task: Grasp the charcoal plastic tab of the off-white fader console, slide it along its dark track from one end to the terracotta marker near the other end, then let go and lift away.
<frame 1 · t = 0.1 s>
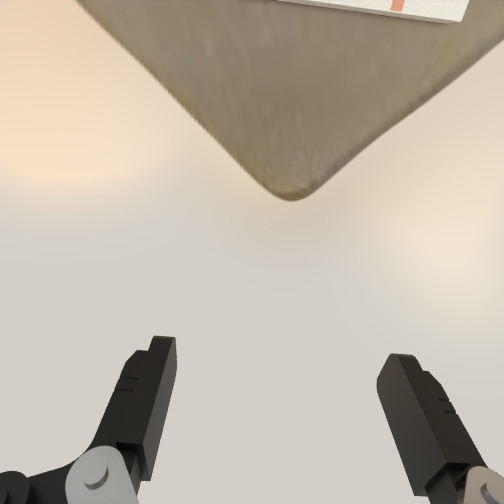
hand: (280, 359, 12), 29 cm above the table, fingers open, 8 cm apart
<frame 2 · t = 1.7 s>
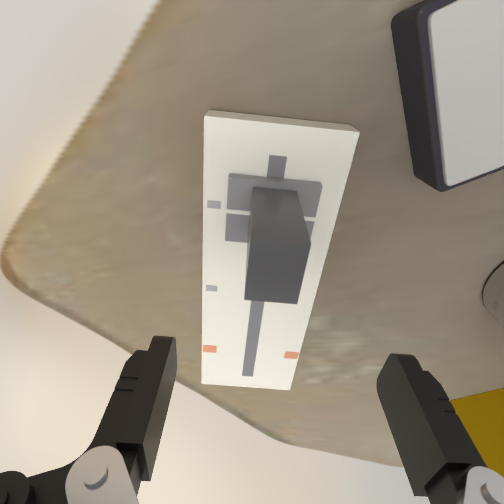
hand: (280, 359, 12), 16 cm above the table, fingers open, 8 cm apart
fader console: (259, 275, 29), on the table
fader tab: (272, 236, 19), point 6 cm above the table, slide at -8.0 cm
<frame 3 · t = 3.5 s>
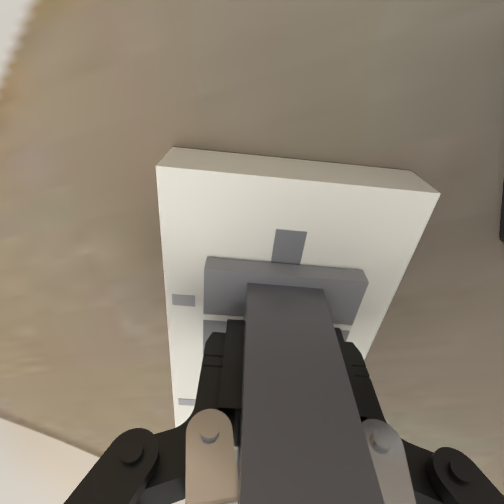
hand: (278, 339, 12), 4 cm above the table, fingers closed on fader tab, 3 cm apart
fader console: (257, 369, 20), on the table
fader tab: (283, 388, 11), point 6 cm above the table, slide at -8.0 cm, touching gripper
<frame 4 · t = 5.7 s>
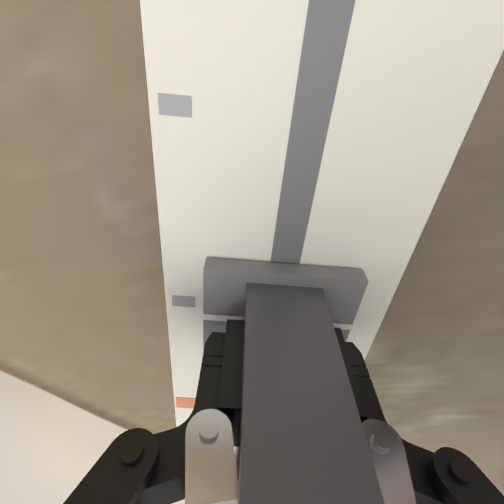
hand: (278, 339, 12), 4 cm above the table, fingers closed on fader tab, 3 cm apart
fader console: (273, 274, 16), on the table
fader tab: (283, 388, 11), point 6 cm above the table, slide at 0.0 cm, touching gripper
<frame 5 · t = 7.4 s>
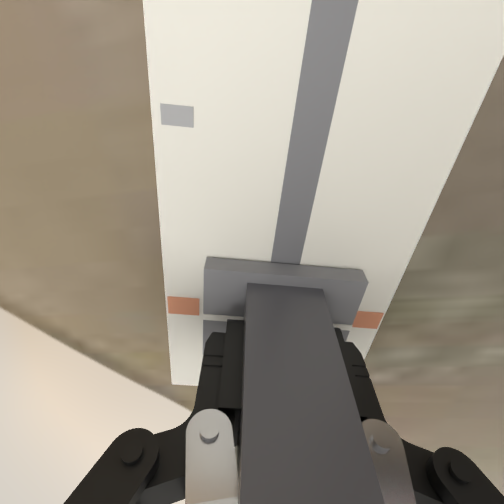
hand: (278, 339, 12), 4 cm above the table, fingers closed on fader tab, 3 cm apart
fader console: (300, 115, 12), on the table
fader tab: (283, 388, 11), point 6 cm above the table, slide at 7.7 cm, touching gripper
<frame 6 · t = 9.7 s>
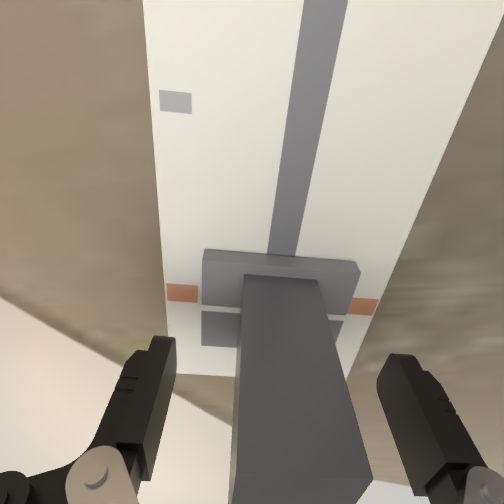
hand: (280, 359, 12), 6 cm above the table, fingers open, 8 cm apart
fader console: (296, 104, 12), on the table
fader tab: (279, 374, 11), point 7 cm above the table, slide at 7.9 cm
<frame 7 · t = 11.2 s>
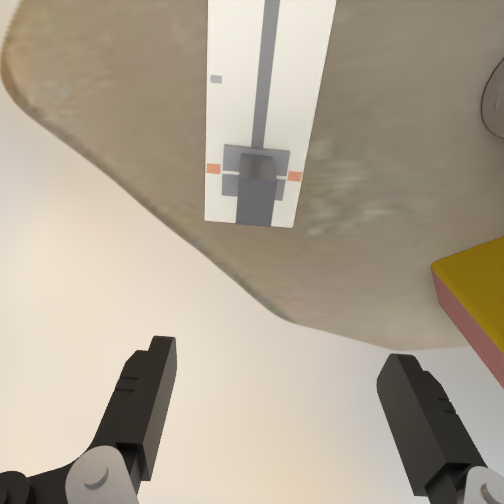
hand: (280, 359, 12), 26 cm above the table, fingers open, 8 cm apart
fader console: (262, 82, 29), on the table
fader tab: (254, 186, 28), point 7 cm above the table, slide at 7.9 cm
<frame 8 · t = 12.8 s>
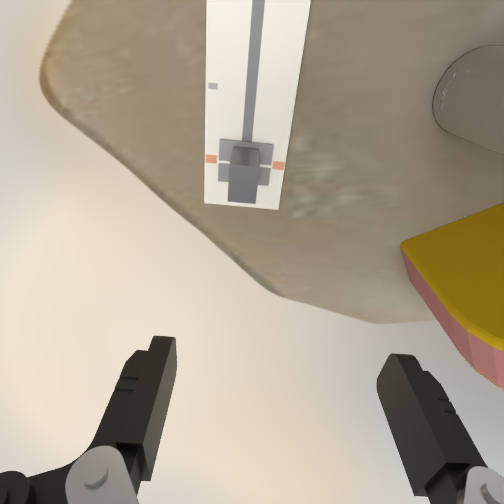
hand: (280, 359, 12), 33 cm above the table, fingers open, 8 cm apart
fader console: (251, 88, 36), on the table
alarm clock: (474, 238, 47), on the table
fader tab: (244, 172, 35), point 7 cm above the table, slide at 7.9 cm
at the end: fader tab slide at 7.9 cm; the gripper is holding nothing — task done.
